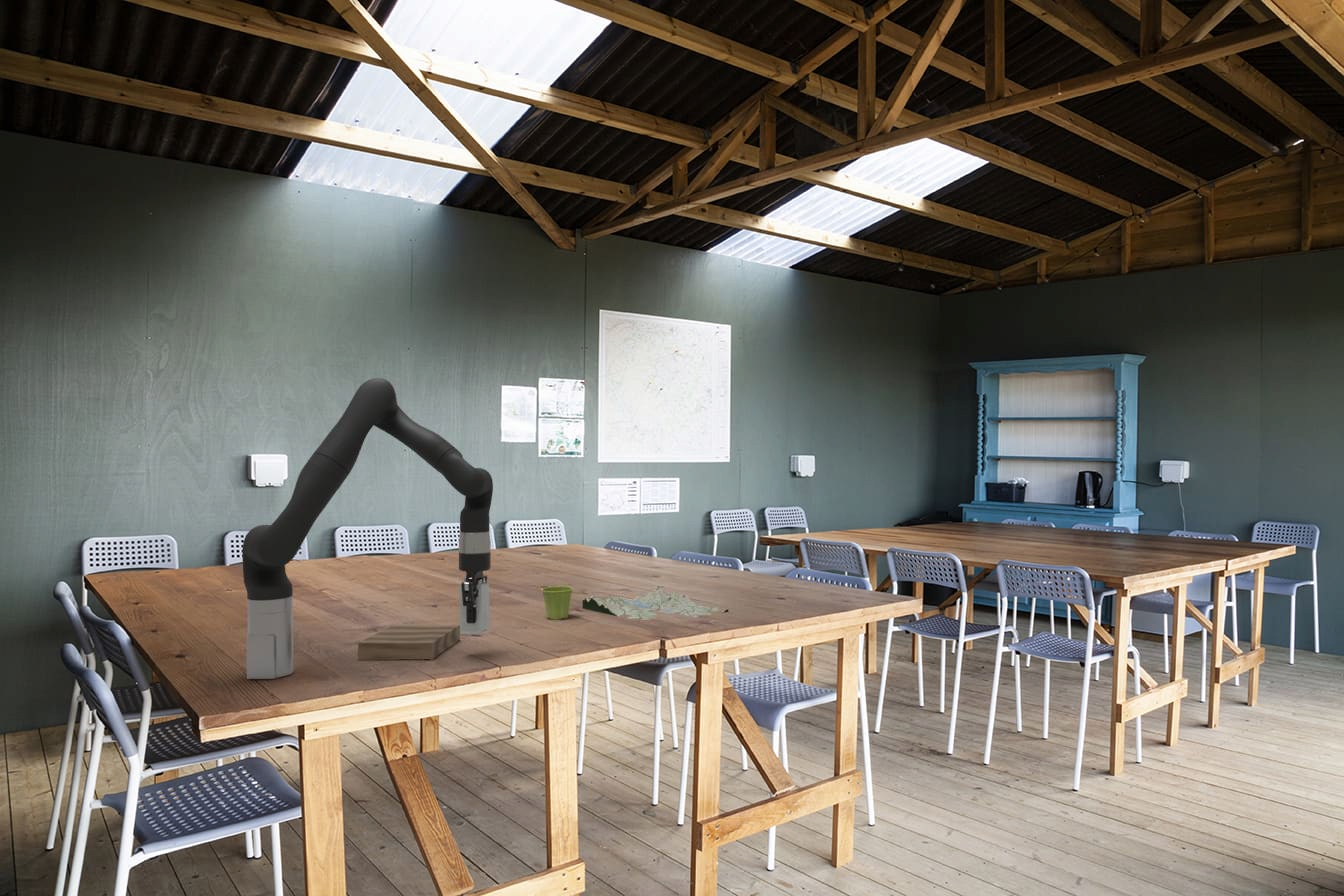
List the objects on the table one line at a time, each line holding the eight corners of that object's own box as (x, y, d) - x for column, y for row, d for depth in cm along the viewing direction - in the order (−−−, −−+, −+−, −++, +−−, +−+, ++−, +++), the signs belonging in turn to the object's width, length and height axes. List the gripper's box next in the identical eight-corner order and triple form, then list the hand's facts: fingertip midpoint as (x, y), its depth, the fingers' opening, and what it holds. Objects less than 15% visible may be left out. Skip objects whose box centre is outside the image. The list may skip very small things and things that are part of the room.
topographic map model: (728, 613, 267) (728, 597, 267) (652, 627, 248) (652, 609, 248) (655, 599, 295) (655, 584, 295) (582, 610, 276) (582, 594, 276)
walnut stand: (432, 659, 208) (432, 643, 208) (358, 659, 209) (357, 643, 209) (460, 640, 230) (459, 624, 230) (392, 640, 231) (392, 625, 231)
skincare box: (490, 632, 214) (490, 582, 214) (481, 635, 209) (481, 584, 210) (467, 630, 215) (467, 581, 215) (458, 634, 211) (458, 584, 211)
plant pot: (571, 620, 255) (571, 591, 255) (539, 621, 256) (538, 591, 256) (575, 615, 265) (575, 586, 265) (544, 615, 265) (544, 586, 265)
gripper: (481, 553, 205) (481, 626, 205) (497, 547, 220) (497, 616, 219) (450, 553, 206) (450, 626, 206) (468, 547, 220) (468, 616, 220)
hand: (474, 620), depth 212 cm, fingers closed on skincare box, 4 cm apart
